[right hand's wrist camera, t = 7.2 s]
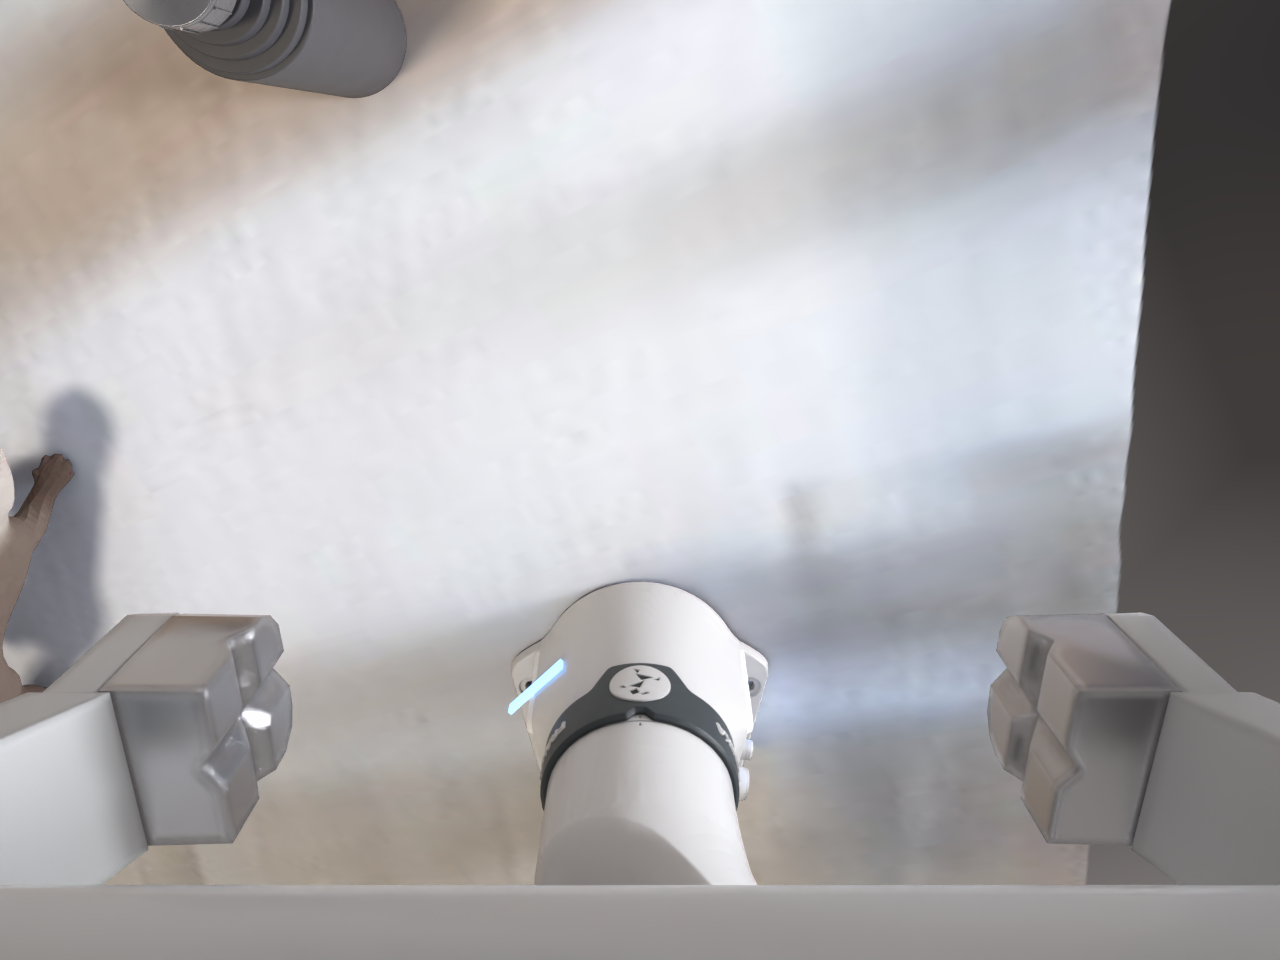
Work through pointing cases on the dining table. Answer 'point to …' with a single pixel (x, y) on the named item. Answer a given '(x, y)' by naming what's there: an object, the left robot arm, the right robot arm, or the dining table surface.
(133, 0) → the cap
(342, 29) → the bottle
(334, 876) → the dining table surface
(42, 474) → the toy
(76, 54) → the dining table surface
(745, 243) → the dining table surface
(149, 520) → the dining table surface
